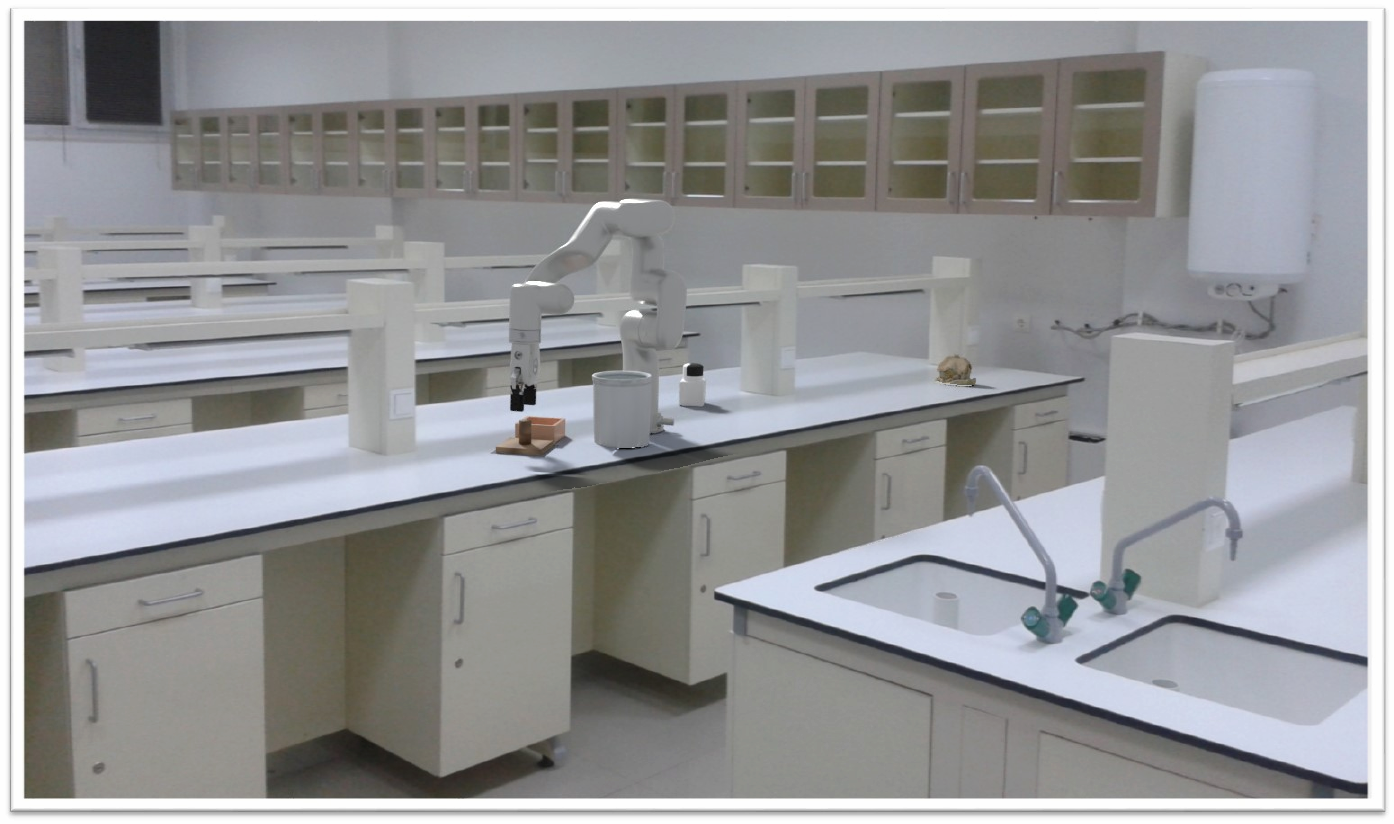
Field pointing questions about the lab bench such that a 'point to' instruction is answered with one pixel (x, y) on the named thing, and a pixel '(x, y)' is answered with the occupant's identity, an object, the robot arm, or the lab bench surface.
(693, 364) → the medicine bottle
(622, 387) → the utensil holder
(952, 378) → the ceramic model
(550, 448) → the mat
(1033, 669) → the lab bench surface
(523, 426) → the lid
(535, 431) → the orange open box
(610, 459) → the lab bench surface
